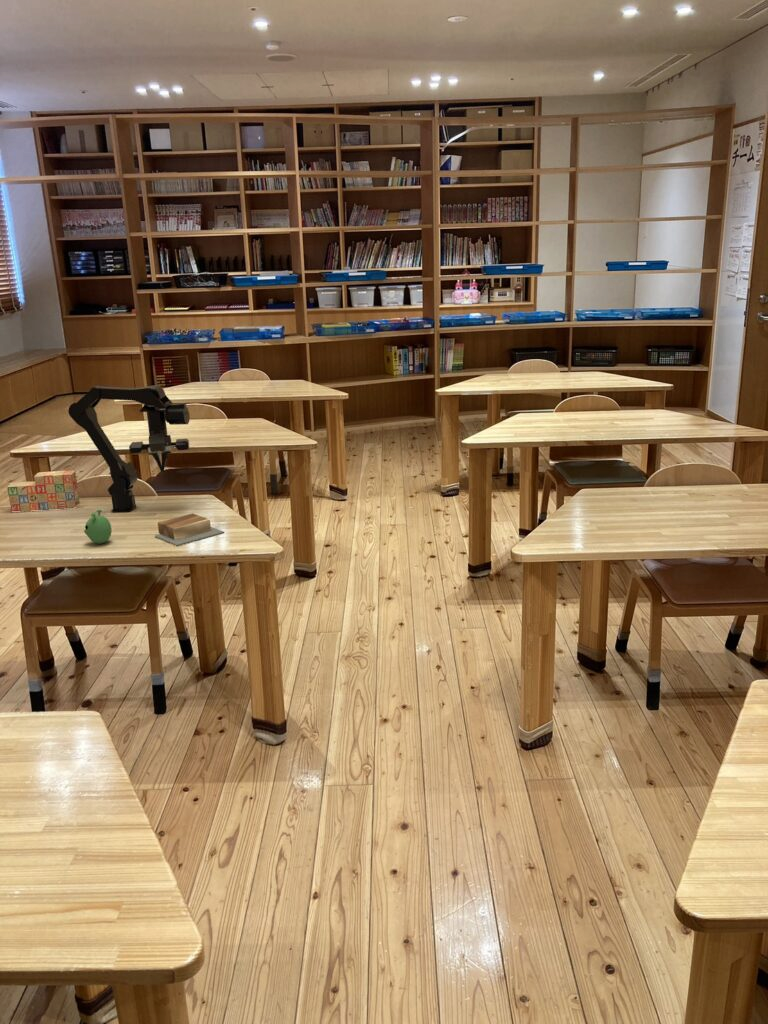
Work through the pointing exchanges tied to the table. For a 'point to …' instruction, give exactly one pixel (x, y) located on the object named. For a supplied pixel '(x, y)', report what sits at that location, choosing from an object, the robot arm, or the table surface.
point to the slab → (184, 526)
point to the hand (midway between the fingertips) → (162, 471)
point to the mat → (190, 537)
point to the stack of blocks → (45, 492)
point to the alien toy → (98, 528)
